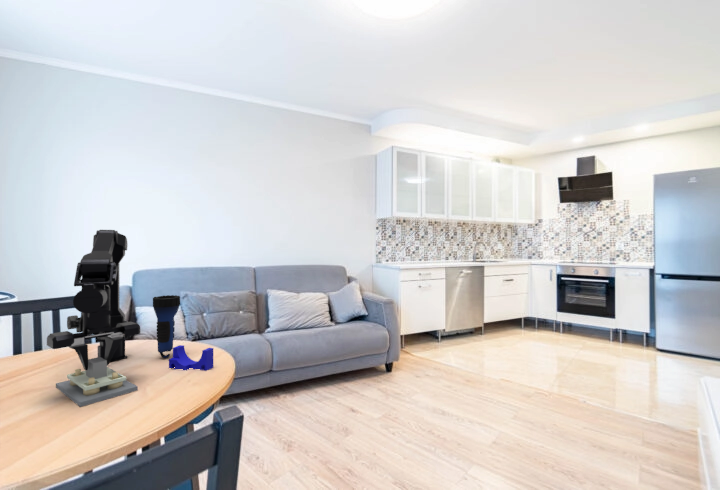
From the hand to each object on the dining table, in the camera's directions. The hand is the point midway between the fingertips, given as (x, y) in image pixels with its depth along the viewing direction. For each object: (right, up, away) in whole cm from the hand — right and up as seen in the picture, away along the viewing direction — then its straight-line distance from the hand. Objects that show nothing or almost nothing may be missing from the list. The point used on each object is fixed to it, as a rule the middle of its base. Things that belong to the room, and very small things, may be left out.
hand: (96, 367), depth 93 cm
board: (0, -3, 0) cm, 3 cm away
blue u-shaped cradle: (+17, -6, +16) cm, 24 cm away
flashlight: (+4, -6, +26) cm, 26 cm away
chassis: (0, -5, 0) cm, 5 cm away
